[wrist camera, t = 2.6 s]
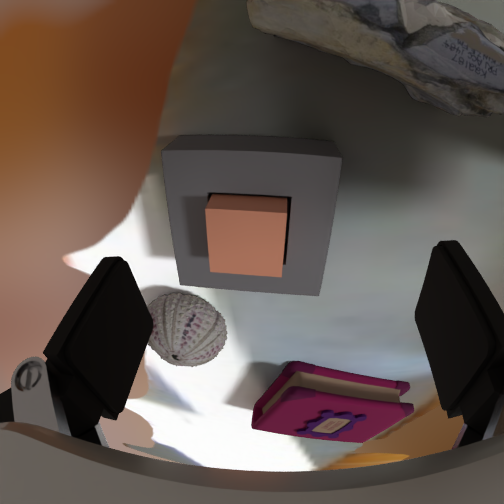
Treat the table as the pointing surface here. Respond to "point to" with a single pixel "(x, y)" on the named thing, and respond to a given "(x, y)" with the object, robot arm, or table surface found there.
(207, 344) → the sea urchin shell
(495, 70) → the fossil rock
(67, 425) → the robot arm
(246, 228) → the button
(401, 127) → the table surface
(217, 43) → the table surface
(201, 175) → the button box
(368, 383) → the book
